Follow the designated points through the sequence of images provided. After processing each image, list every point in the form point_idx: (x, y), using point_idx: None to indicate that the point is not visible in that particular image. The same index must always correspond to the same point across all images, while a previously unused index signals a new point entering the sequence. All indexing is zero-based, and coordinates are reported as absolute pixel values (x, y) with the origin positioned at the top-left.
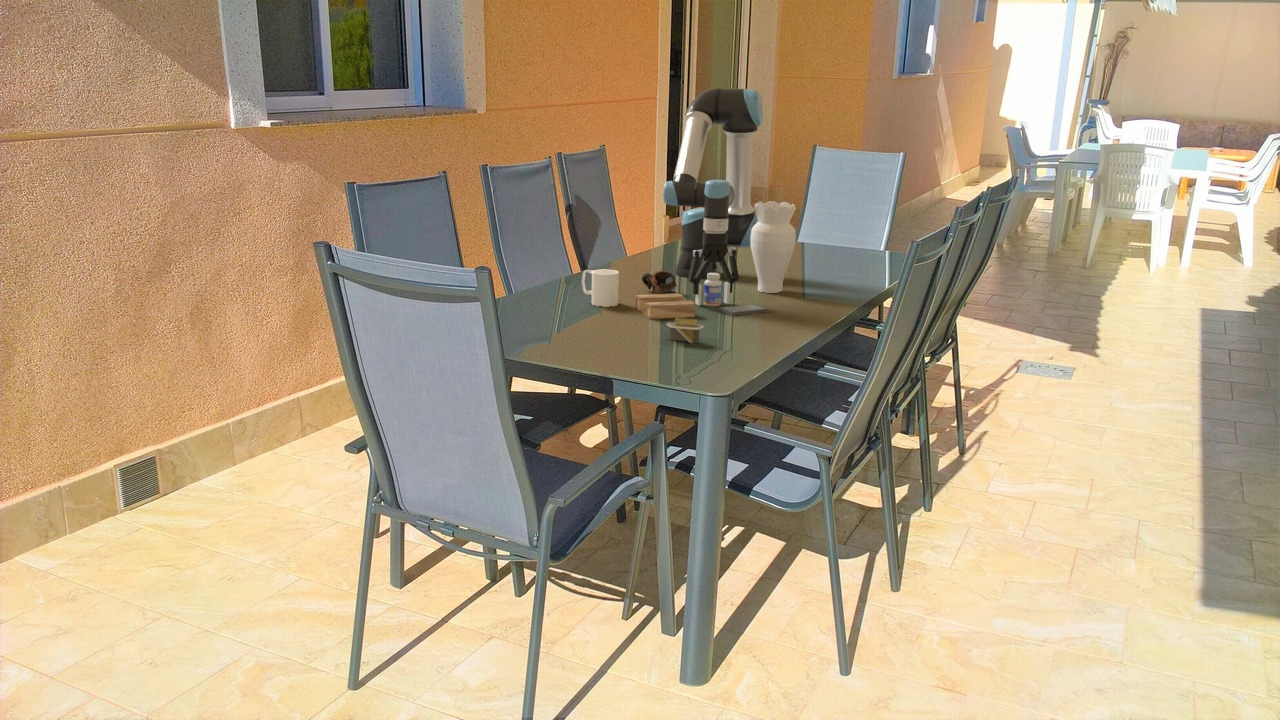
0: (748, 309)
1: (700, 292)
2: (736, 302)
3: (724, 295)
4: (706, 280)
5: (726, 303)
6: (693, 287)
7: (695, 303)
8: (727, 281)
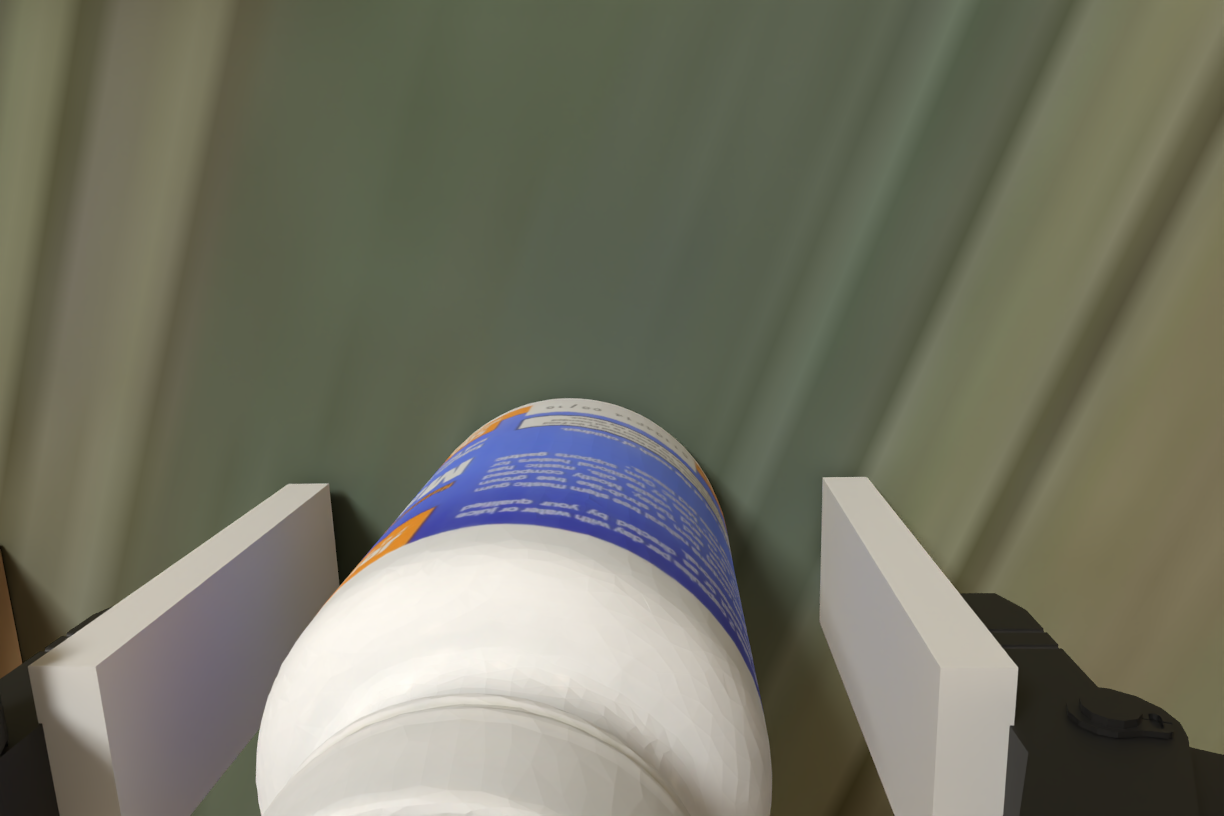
0: None
1: (221, 754)
2: (1073, 477)
3: (849, 549)
4: (287, 775)
5: (820, 608)
6: (17, 684)
7: (287, 491)
8: (1019, 738)
